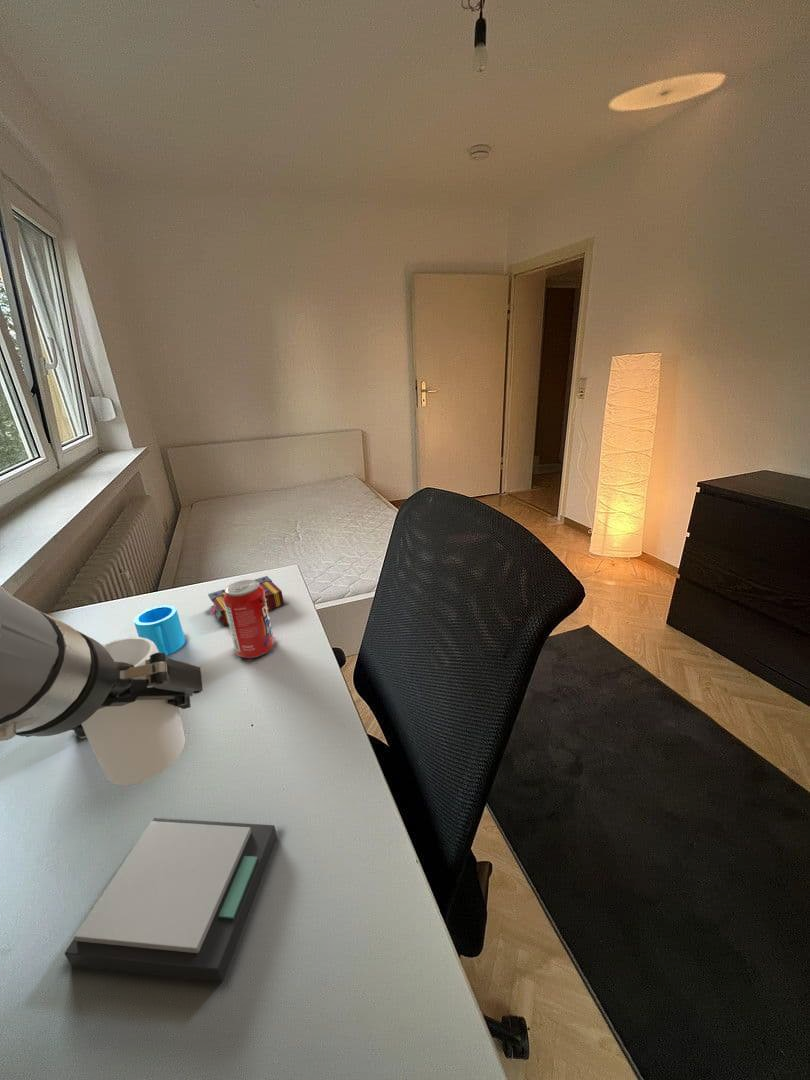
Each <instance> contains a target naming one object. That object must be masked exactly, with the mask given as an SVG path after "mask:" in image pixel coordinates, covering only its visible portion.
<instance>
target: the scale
mask: <svg viewBox="0 0 810 1080" xmlns="http://www.w3.org/2000/svg"><path fill="white" fill-rule="evenodd" d="M277 839H278V835H277V830H276V826H275V824H258V823H245V822H243V823H242V822H227V821H211V820H210V821H209V820H194V819H193V820H192V819H176V818H161V817H154V818H153V819H152V821H151V820H150V822H149V824H148V825H147V827H146V828H145V830H144V831H143V833H142V834H141V836H140V837H139V838H138V840H137V841H136V843H135V845H134V846H133V848H132V849H131V851H130V852H129V854H128V855H127V857H126V858H125V860H124V861H123V863H122V864H121V866H120V867H119V869H118V870H117V871H116V873H115V874H114V876H113V878H111V881H110V882H109V883H108V885H107V886H106V888H105V890H104V891H103V893H102V894H101V895H100V897H99V899H98V900H97V902H96V903H95V905H94V906H93V908H92V909H91V911H90V912H89V914H88V915H87V916H86V918H85V920H84V921H83V923H82V924H81V926H80V927H79V929H78V930H77V932H76V933H75V935H74V936H73V937H74V938H73V939H72V941H71V942H70V944H69V945H68V947H67V948H66V950H65V951H64V956H65V958H66V959H67V960H68V962H69V964H70V966H71V967H76V968H77V967H78V968H87V969H96V970H106V971H115V972H123V973H135V974H143V975H153V976H159V977H160V976H162V977H171V978H180V979H187V980H197V981H198V980H199V981H206V982H207V981H208V982H215V983H216V982H217V983H223V982H224V980H225V977H226V974H227V971H228V969H229V966H230V963H231V961H232V958H233V955H234V953H235V950H236V948H237V945H238V942H239V939H240V937H241V934H242V931H243V930H244V927H245V924H246V922H247V918H248V916H249V914H250V910H251V908H252V905H253V903H254V900H255V897H256V894H257V892H258V890H259V887H260V884H261V882H262V879H263V876H264V873H265V871H266V868H267V865H268V863H269V860H270V857H271V854H272V852H273V850H274V847H275V844H276V842H277Z"/></svg>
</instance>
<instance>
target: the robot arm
mask: <svg viewBox="0 0 810 1080" xmlns="http://www.w3.org/2000/svg"><path fill="white" fill-rule="evenodd" d="M102 645H103V644H101V643H100V642H99V641H97V640H95V639H93V638H92V637H90V636H88V635H86V634H85V633H83V632H81V631H79V630H77V629H75V628H73V627H72V626H70V624H67V623H65V622H63V621H61V620H59V619H57V618H55V617H53V616H51V615H49V614H47V613H45V612H43V611H41V610H39V609H37V608H34V607H33V606H31V605H29V604H28V603H26V602H24V601H22V600H20V599H18V598H16V597H15V596H13V595H12V594H10V593H9V592H8V591H7V590H5V589H4V588H3V587H2V586H1V585H0V741H10V740H11V739H14V737H16V736H18V737H26V738H30V737H51V736H55V735H56V736H57V735H60V734H63V733H66V732H68V731H75V730H76V731H84V729H83V727H82V725H81V724H82V723H83V722H84V721H86V720H87V719H88V718H90V717H91V716H92V715H93V714H94V713H95V712H96V711H97V710H98V709H101V708H104V707H110V706H123V705H126V704H129V703H132V702H134V701H136V700H163V699H167V702H168V704H171V705H174V706H175V707H178V709H183V710H185V709H190V708H191V707H192V706H191V697H192V696H193V695H198V694H200V693H202V692H203V691H204V689H203V680H202V667H201V666H197V665H194V664H190V663H186V662H183V661H180V660H177V659H173V658H169V657H168V655H167V656H166V654H165V653H160V652H158V653H154V654H152V655H150V659H147V660H145V665H141V666H136V667H134V666H133V665H132V664H128V663H125V662H115V661H114V660H113V658H112V657H111V656H110V654H109V653H108V651H107V650H106V649H105V648H104V647H103V646H102ZM117 696H118V697H117Z"/></svg>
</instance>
